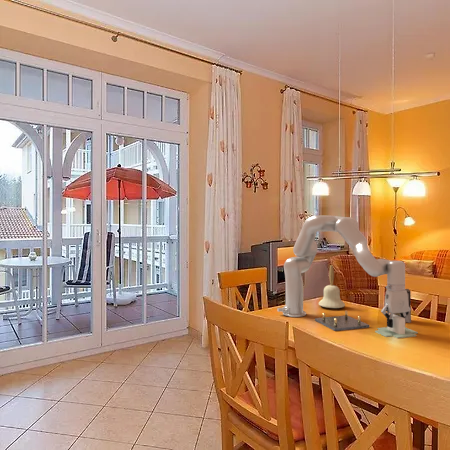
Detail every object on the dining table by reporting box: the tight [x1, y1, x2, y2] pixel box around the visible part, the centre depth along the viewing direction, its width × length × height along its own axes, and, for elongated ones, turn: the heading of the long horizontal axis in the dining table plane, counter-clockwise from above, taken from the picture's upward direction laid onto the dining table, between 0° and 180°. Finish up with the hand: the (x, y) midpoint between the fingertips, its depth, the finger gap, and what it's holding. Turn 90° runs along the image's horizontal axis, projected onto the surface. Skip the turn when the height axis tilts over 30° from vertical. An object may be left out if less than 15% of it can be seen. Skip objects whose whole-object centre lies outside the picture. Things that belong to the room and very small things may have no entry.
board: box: [374, 314, 419, 339], centre depth 176 cm, size 17×14×8 cm
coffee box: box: [394, 288, 412, 324], centre depth 196 cm, size 9×6×16 cm
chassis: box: [314, 310, 370, 332], centre depth 191 cm, size 19×19×5 cm
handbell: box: [318, 264, 346, 309], centre depth 225 cm, size 15×15×25 cm
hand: (396, 326), depth 176 cm, fingers open, 6 cm apart
